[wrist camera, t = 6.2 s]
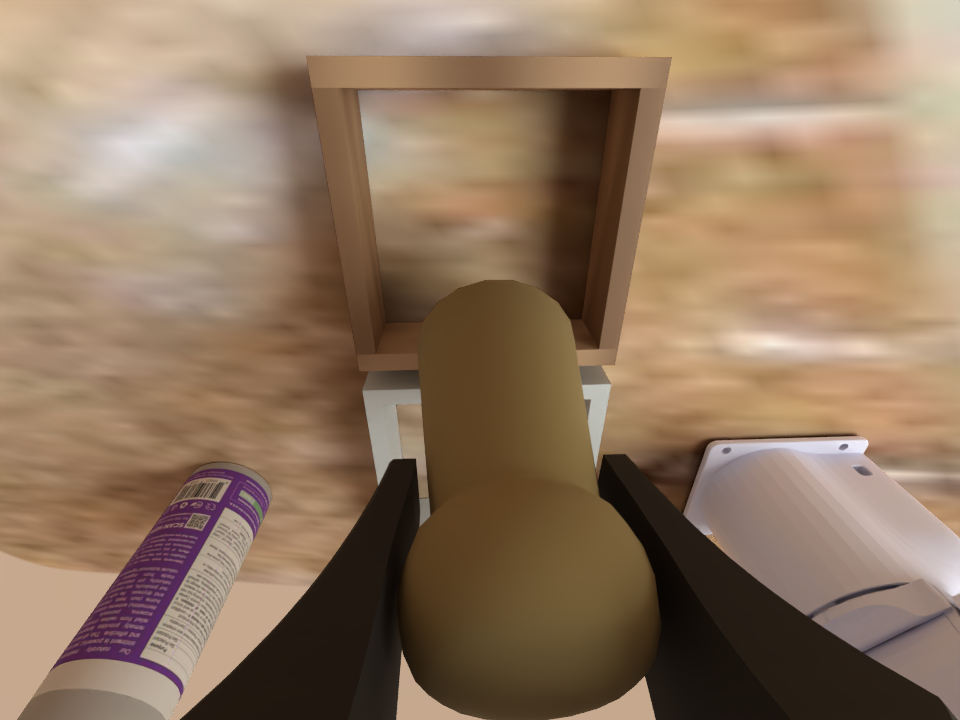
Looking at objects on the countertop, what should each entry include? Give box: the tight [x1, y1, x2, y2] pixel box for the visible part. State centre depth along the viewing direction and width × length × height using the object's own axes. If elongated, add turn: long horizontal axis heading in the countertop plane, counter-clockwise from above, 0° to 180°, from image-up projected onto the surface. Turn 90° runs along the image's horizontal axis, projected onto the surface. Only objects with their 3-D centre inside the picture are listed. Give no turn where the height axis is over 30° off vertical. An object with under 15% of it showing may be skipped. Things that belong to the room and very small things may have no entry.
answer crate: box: [362, 365, 611, 527], centre depth 23 cm, size 11×11×3 cm
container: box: [17, 462, 272, 720], centre depth 19 cm, size 5×5×15 cm
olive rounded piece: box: [396, 280, 662, 720], centre depth 12 cm, size 6×6×11 cm
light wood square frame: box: [306, 56, 672, 371], centre depth 17 cm, size 11×11×3 cm
